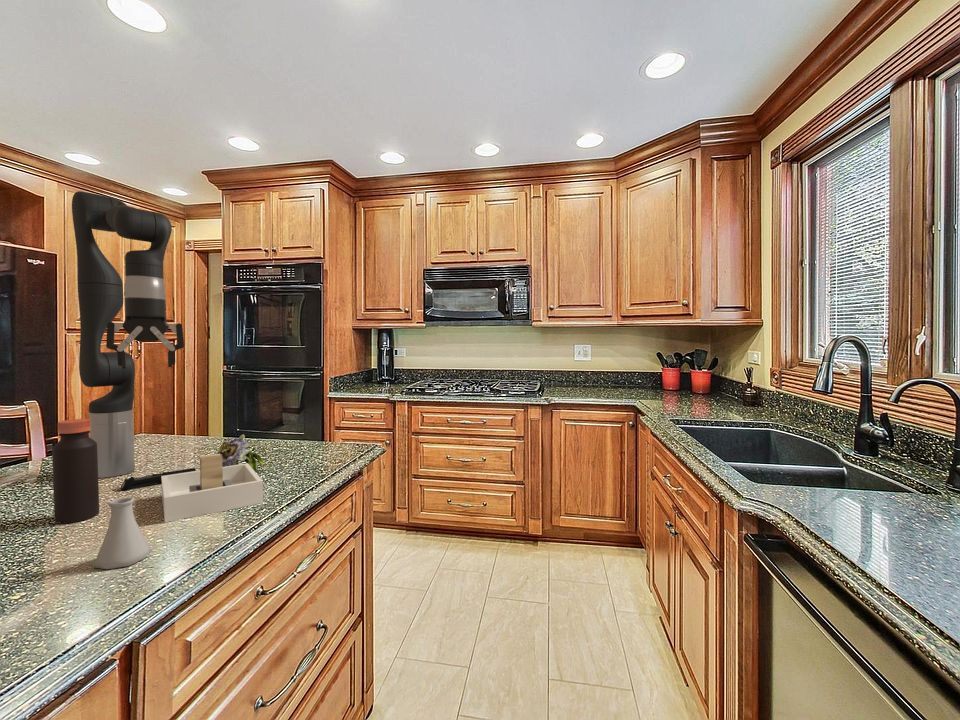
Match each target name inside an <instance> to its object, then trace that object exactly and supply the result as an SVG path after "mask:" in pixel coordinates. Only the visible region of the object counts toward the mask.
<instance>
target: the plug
mask: <svg viewBox="0 0 960 720" xmlns="http://www.w3.org/2000/svg"><path fill="white" fill-rule="evenodd" d="M199 470H200V490H205V489H211V488H217V487H223V471H222V456H221V455H220V454H217V453H214V454H207V455H200V456H199Z"/></svg>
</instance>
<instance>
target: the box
mask: <svg viewBox="0 0 960 720" xmlns="http://www.w3.org/2000/svg"><path fill="white" fill-rule="evenodd" d="M222 471H223V487H217V488H211V489H205V490H200V469H199V470H195V471H192V472H186V473H179V474H172V475H165V476H161V482H162V483H161V499H162V500H161V501H162V511H163V518H164V519H163V520H164V523H165V522H166V523H170V522H169V521H171V522H175V521H174V520H176V521H180V520H179V519H181V520H185V519H184V518H186V519H189V518H190V517H191V518H195V517H200V515H201V516H206V515H210V514H214V513H219V512H221V513H222V512H224V511H230V510H236V509H239V508H245V507H250V506H255V505H260V504H263V503H264V480H263V479H262V477H260V476H259V474H258V473H257V472H255V471H254V470H253V469H252V467H251V466H250V465H249V464H248V463H246V462H245V463H239V464H238V465H233V466H226V467H222ZM205 514H206V515H205ZM191 518H190V519H191Z"/></svg>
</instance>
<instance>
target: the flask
mask: <svg viewBox="0 0 960 720" xmlns="http://www.w3.org/2000/svg"><path fill="white" fill-rule="evenodd" d="M134 501H135V497H130V496H127V497H120V498H119V497H118V498H116V499H113V500H110V501H109V502H108V503H107V505H108V507H110V517H109V518H110V519H109V522H108V523H109V524H108V527H107V531H106V532H105V533H106V534H105V536H104V537H103V540H102V544H101V546H100V549H99V552H98V553H97V556H96V557H95V560H94V563H93V566H92V567H93V568H96V569H97V568H98V569H103V570H111V569H116V568H117V569H118V568H122V567H129V566H131V565H133V564H135V563H137V562H140V561H142V560H144V559H146V558H147V557H148V556H149V554H150V553H151V551H152V548H151V545H150V544H149V543H148V541H147V538H146V537H145V536H144V534H143V532H142V531H141V528H140V526H139V525H138V522H137V521H136V517H135V514H134V511H133V510H134V509H133V503H134Z"/></svg>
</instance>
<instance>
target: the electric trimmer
mask: <svg viewBox="0 0 960 720" xmlns="http://www.w3.org/2000/svg"><path fill="white" fill-rule="evenodd" d="M192 471H196V467H194V468H193V467H192V468H191V467H190V468H185V469H177V470H172V471H171V470H170V471H165V472H162V473H161V472H160V473H152V474H151V475H147V476H140V477H134V476H131V477H129V478H125V479H124V481H122V484H121V486H120V491H121V492H128V491H129V490H132V489H136V488H137V487H138V488H142V486H144V487H149V486H153V484H154V485H159V484H162V482H161V476H165V475H172V474H179V473H186V472H192ZM148 485H149V486H148ZM138 488H137V489H138ZM127 490H128V491H127Z"/></svg>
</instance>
